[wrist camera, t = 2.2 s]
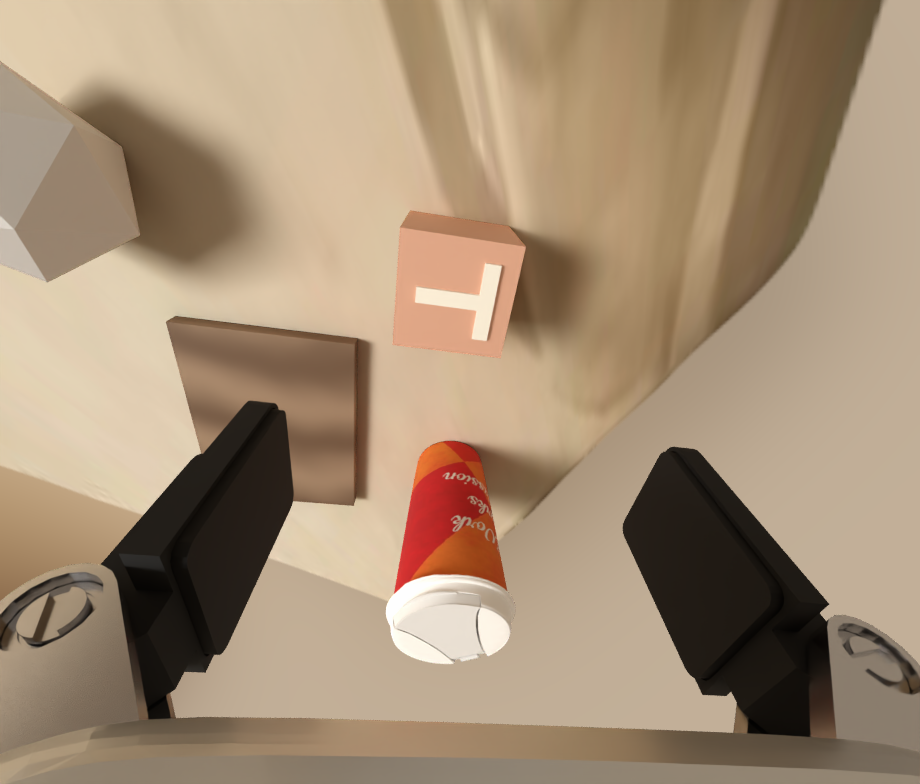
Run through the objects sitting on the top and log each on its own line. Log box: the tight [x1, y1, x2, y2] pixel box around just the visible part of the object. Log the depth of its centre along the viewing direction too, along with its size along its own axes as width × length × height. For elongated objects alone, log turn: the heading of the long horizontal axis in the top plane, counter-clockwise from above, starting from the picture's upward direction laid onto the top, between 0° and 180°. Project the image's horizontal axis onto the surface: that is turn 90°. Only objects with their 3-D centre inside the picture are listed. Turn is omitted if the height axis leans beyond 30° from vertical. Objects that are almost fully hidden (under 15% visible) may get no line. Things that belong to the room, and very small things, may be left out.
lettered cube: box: [393, 211, 526, 358], centre depth 22 cm, size 6×6×6 cm
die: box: [0, 61, 140, 282], centre depth 18 cm, size 8×9×10 cm
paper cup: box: [386, 441, 516, 664], centre depth 28 cm, size 8×8×14 cm
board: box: [166, 316, 357, 506], centre depth 30 cm, size 16×12×1 cm
